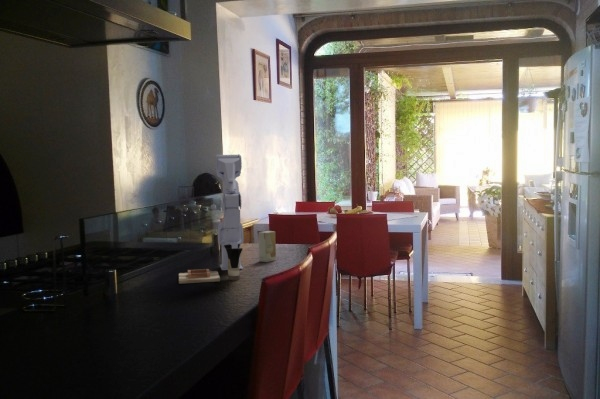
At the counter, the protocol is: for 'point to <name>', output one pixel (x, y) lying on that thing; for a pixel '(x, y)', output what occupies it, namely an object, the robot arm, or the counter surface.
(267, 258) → the skincare box
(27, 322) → the counter surface
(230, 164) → the robot arm
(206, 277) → the holder
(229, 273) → the sleeve
